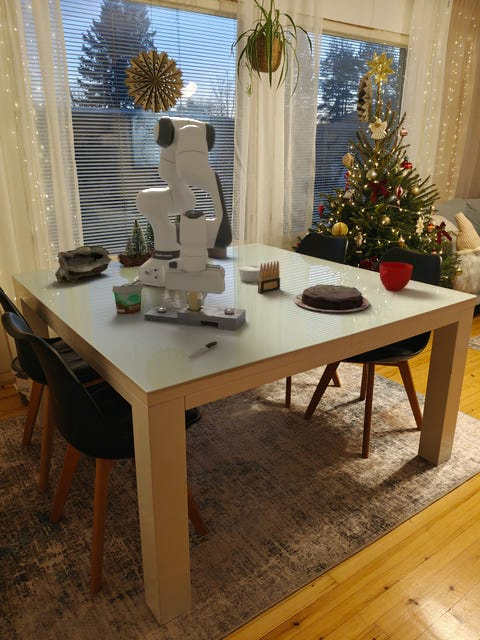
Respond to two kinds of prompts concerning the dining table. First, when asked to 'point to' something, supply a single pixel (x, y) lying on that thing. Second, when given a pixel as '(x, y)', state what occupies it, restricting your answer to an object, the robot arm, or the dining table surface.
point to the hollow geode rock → (82, 263)
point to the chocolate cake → (332, 299)
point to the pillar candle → (217, 253)
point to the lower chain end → (169, 316)
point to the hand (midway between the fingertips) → (195, 304)
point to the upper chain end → (216, 316)
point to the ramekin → (249, 273)
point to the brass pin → (194, 301)
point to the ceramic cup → (395, 275)
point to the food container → (128, 297)
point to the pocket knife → (204, 349)
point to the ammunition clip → (269, 278)
